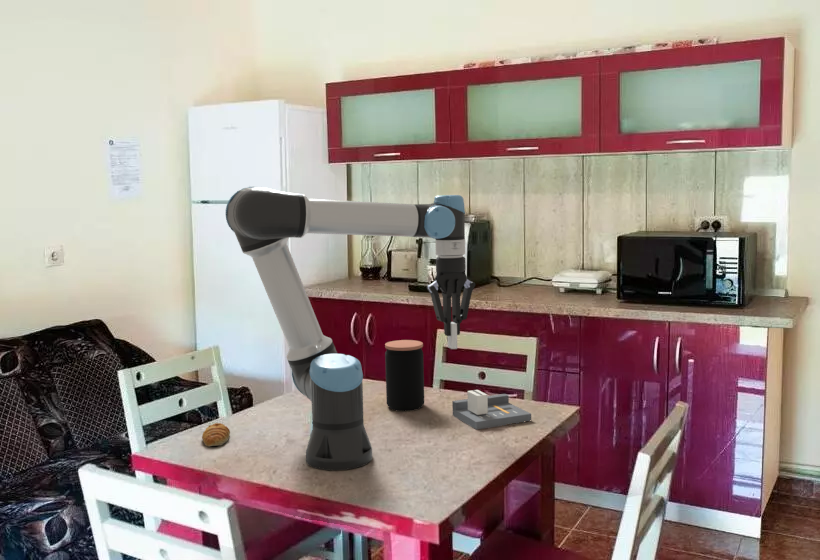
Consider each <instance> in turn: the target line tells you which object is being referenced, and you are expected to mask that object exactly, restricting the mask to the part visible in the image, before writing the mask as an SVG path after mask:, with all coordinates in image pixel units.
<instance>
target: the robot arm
mask: <svg viewBox="0 0 820 560" xmlns="http://www.w3.org/2000/svg"><path fill="white" fill-rule="evenodd" d="M433 199H434V201H433V203H421V204H420V203H417V204H416V203H415V204H414V203H413V204H412V203H393V202H378V201H377V202H376V201H375V202H374V201H356V200H338V199H335V200H334V199H320V198H319V199H318V198H308V197H307V195H306V194H304V193H296V192H295V193H294V192H287V191H281V190H276V189H273V188H269V187H262V186H261V187H259V186H247V187H244V188H241V189H240V190H239V189H238V190H237V191H236V192H235V193H233V194H232V195H231V197H230V198H229V200H228V201H227V204H226V207H225V219H226V223H227V225H228V227H229V228H230V230H231V231H232V232H233V233H234V235H235V237H236V240H237V242H238V244H239V247H240V249H241V252H242V253H243V254H245V255H247V256H249V257H250V258H252V261H253V262H254V266H255V268H256V270H257V273H258V275H259V277H260V280H261V282H262V285H263V287H264V289H265V292H266V294H267V297H268V299H269V301H270V304H271V307H272V309H273V312H274V314H275V315H276V317H275V318H276V319H277V321H278V324H279V326H280V329H281V331H282V334H283V336H284V338H285V340H286V343H287V346H288V348H289V349H288V352H287V354H286V360H287V363H288V364H289V367H290V370H291V379H292V382H293V384H294V386H295V388H296V389H297V390H298V392H299V393H300V394H302V395H303V396H305V397H306V398H307V399H308V400H309V401H310V402H311V418H312V419H311V420H312V421H311V423H312V427H311V428H312V429H311V432H310V437H309V439H308V443H307V447H306V450H305V462H306V464H307V465H308V466H309V467H312V468H315V469H318V470H323V471H324V470H325V471H345V470H352V469H356V468H360V467H362V466H365V465H367V464H369V463H370V462H372V460H373V447H372V444H371V442H370V441H371V440H370V438H369V436H368V432H367V430H366V428H365V424H364V420H365V419H364V396H363V395H364V394H363V393H364V390H363V389H364V388H363V378H364V374H363V370H362V364H361V361H360V360H359V359H358V358H356V357H354V356H352V355H350V354H345V353H338V351H337V349H336V346H335V344H334V342H333V339H332V338H331V337H330V336H329V337H328V336H326V335H324V334H323V332H322V328H321V326H320V324H319V321H318V319H317V316H316V314H315V312H314V311H315V310H314V309H313V307H312V304H311V301H310V299H309V296H308V294H307V291H306V289H305V286H304V284H303V281H302V278H301V276H300V273H299V271H298V268H297V266H296V263H295V261H294V258H293V257H292V254H291V252H290V251H291V250H290V249H289V246H288V240H289V238H290V239H291V238H298V239H299V238H300V239H301V238H303V237H304V236H306V235H307V234H314V235H315V234H318V235H321V234H322V235H345V236H346V235H348V236H351V235H352V236H377V237H379V236H380V237H409V238H410V237H411V238H426V239H427V238H430V239H434V241H435V242H434V244H435V247H434V248H435V256H437V257H436V258H435V271H436V272H435V273H436V275H435V277H434V281H433V282H432V283H431V284H427V285H426V289H427V291H428V292H429V295H430V297H431V301H432V306H433V309H434V312H435V313H434V314H435V318H436V320H437V321H438V322H441V323H443V327H444V328H443V331H444V332H443V334H444V335H445V336H446V337H447V338H446V339H447V348H449V349H450V350H457V349H458V336H459V335H460V334H461V323H462V322H463V321H464V320H467V318H468V314H469V308H470V303H471V300H472V299H471V298H472V293H473V290H474V288H475V287H476V283H475V282H473V281H471V280H469V279H468V277H467V276H468V275H467V274H466V270H467V269H466V267H467V265H466V257H465V256H464V255H466V239H465V238H466V231H465V229H466V228H465V227H466V223H465V219H466V217H465V215H466V210H465V200H464V197H463V196H462V195H459V194H445V195H443V194H441V195H435V196H434V198H433ZM439 289H440V290H441V297H442V301H441V298H440V294H439V291H438V290H439ZM462 289H463V292H462ZM461 296H462V298H461Z"/></svg>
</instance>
